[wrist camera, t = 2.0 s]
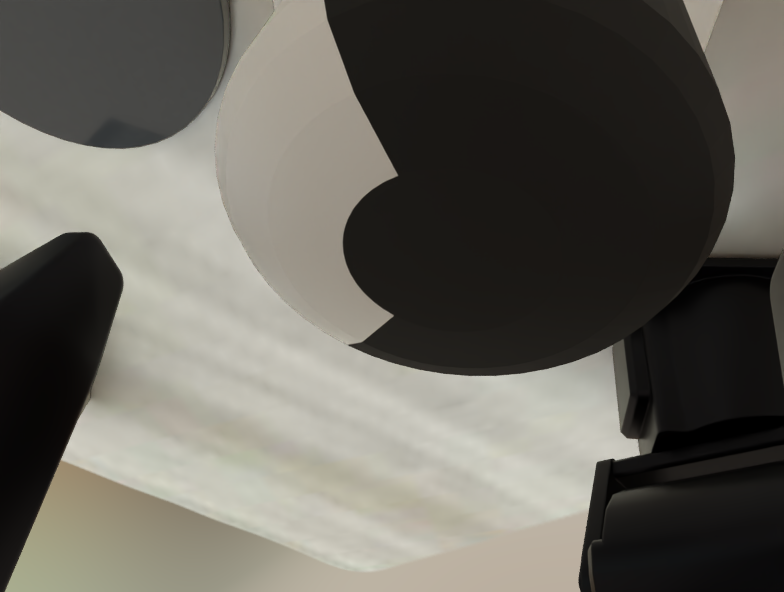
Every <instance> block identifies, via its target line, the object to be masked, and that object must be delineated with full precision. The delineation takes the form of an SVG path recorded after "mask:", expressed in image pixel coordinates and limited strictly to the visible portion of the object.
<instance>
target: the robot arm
mask: <svg viewBox="0 0 784 592" xmlns="http://www.w3.org/2000/svg"><path fill="white" fill-rule="evenodd" d="M122 290H123V276H122V273H121V271H120V270H119V268H118V267H117V265H116V263H115V262H114V260H113V259H112V257H111V256H110V254H109V252H108V251H107V249H106V248H105V246H104V245H103V243H102V242H101V240H100V239H99V238H98V237H97V236H96V235H94V234H92V233H89V232H70V233H65V234H62V235H60V236H58V237H56V238H55V239H53V240H51V241H49V242H48V243H46V244H44V245H42V246H41V247H39V248H37V249H35V250H34V251H32V252H30V253H29V254H27V255H25V256H23V257H22V258H20V259H18V260H16V261H15V262H13V263H11V264H10V265H8V266H6V267H4V268H3V269H1V270H0V592H5V590H6V587H7V585H8V583H9V580H10V578H11V576H12V573H13V571H14V568H15V566H16V564H17V561H18V559H19V556H20V554H21V552H22V550H23V547H24V545H25V542H26V540H27V538H28V536H29V533H30V531H31V529H32V526H33V524H34V522H35V519H36V517H37V514H38V512H39V510H40V507H41V505H42V503H43V500H44V498H45V495H46V493H47V491H48V488H49V486H50V484H51V481H52V479H53V477H54V474H55V472H56V470H57V467H58V465H59V462H60V460H61V458H62V456H63V453H64V451H65V449H66V446H67V444H68V442H69V439H70V437H71V435H72V432H73V430H74V427H75V425H76V423H77V420H78V418H79V416H80V413H81V411H82V409H83V406H84V404H85V402H86V399H87V397H88V395H89V392H90V390H91V387H92V385H93V382H94V380H95V377H96V374H97V371H98V368H99V365H100V362H101V359H102V356H103V352H104V349H105V346H106V343H107V339H108V336H109V333H110V330H111V326H112V323H113V320H114V317H115V313H116V310H117V307H118V304H119V300H120V297H121V294H122ZM612 351H613V361H614V371H615V381H616V391H617V401H618V411H619V421H620V430H621V433H622V434H623V435H624V436H625V437H626V438H630V439H638V443H639V451H640V455H639V456H635V457H630V458H625V459H621V460H616V461H615V460H614V459H608V460H604V461H599V462H597V464H596V470H595V477H594V483H593V489H592V495H591V501H590V508H589V514H588V520H587V526H586V532H585V539H584V545H583V551H582V558H581V566H580V572H579V588H580V591H581V592H784V248H783V250H782V253H781V255H780V258H779V259H759V258H707V259H706V261H705V262H704V264H703V265H702V267H701V268H700V270H699V271H698V273H697V274H696V275H695V277H694V278H693V279H692V280H691V281H690V282H689V283H688V284H687V286H686V287H685V288H684V289H683V290H682V291H681V292H680V293H679V295H678V296H677V297H676V298H674V299H673V300H672V301H671V302H670V303H669V304H668V305H667V306H665V307H664V308H663V309H662V310H661V311H660V312H659V313H657V314H656V315H655V316H654V317H653V318H652V319H650V320H649V321H648V322H647V323H646V324H645V325H643V326H642V327H640V328H639V329H637V330H636V331H634V332H633V333H631V334H630V335H628V336H627V337H625V338H624V339H622V340H621V341H619V342H617V343H615V344H613V350H612Z"/></svg>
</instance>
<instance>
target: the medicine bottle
mask: <svg viewBox="0 0 784 592" xmlns="http://www.w3.org/2000/svg"><path fill="white" fill-rule="evenodd" d="M722 3H723V0H273V5H274V13H273V14H272V15H271V17H270V18H269V20H268V21H267V22H266V24H265V25H264V27H263V28H262V29H261V31H260V32H259V33H258V35H257V36H256V38H255V39H254V40H253V42H252V43H251V45H250V46H249V47H248V49H247V50H246V51H245V53H244V54H243V56H242V57H241V58H240V60H239V62H238V64H237V66H236V68H235V70H234V73H233V75H232V77H231V79H230V81H229V83H228V85H227V87H226V89H225V93H224V97H223V100H222V104H221V108H220V111H219V115H218V119H217V129H216V140H215V159H216V173H217V179H218V184H219V188H220V192H221V196H222V201H223V204H224V207H225V209H226V212H227V214H228V217H229V219H230V222H231V224H232V227H233V229H234V231H235V233H236V234H237V236H238V238H239V240H240V241H241V243H242V245H243V247H244V248H245V250H246V252H247V254H248V255H249V257H250V259H251V261H252V262H253V264H254V266H255V267H256V268H257V270H258V271H259V272H260V274H261V275H262V276H263V278H264V279H265V280H266V282H267V283H268V284H269V285H270V286H271V288H272V289H273V290H274V291H275V292H276V293H277V294H278V295H279V296H280V297H281V298H282V299H283V300H284V301H285V302H286V303H287V304H288V305H289V306H290V307H292V308H293V309H294V310H295V311H296V312H297V313H299V314H300V315H301V316H302V317H303V318H305V319H306V320H307V321H309V322H310V323H312V324H313V325H315V326H316V327H318V328H319V329H321V330H322V331H323V332H325V333H327V334H328V335H330V336H332V337H334V338H336V339H337V340H339V341H341V342H343V343H345V344H346V345H349V346H351V347H353V348H355V349H358V350H360V351H362V352H364V353H367V354H369V355H371V356H374V357H377V358H380V359H383V360H386V361H389V362H392V363H395V364H399V365H403V366H407V367H411V368H415V369H419V370H425V371H431V372H437V373H443V374H454V375H467V376H498V375H509V374H521V373H527V372H532V371H538V370H544V369H548V368H552V367H556V366H559V365H563V364H567V363H570V362H574V361H576V360H579V359H581V358H584V357H587V356H589V355H592V354H595V353H597V352H599V351H601V350H603V349H605V348H607V347H609V346H611V345H613V344H615V343H617V342H619V341H621V340H622V339H624V338H625V337H627V336H628V335H630V334H631V333H633V332H634V331H636V330H637V329H639V328H640V327H642V326H643V325H645V324H646V323H647V322H648V321H649V320H650V319H652V318H653V317H654V316H655V315H656V314H657V313H659V312H660V311H661V310H662V309H663V308H664V307H665V306H667V305H668V304H669V303H670V302H671V301H672V300H673V299H674V298H676V297H677V296H678V295H679V293H680V292H681V291H682V290H683V289H684V288H685V287H686V286H687V284H688V283H689V282H690V281H691V280H692V279H693V278H694V277H695V275H696V274H697V273H698V271H699V270H700V268H701V267H702V265H703V264H704V262H705V261H706V259H707V258H708V256H709V255H710V253H711V252H712V250H713V248H714V246H715V244H716V242H717V239H718V237H719V235H720V232H721V230H722V228H723V226H724V223H725V221H726V217H727V213H728V209H729V205H730V201H731V197H732V193H733V185H734V167H735V154H734V147H733V139H732V132H731V125H730V121H729V118H728V115H727V112H726V110H725V107H724V104H723V101H722V98H721V95H720V92H719V89H718V87H717V84H716V82H715V79H714V77H713V74H712V72H711V69H710V67H709V64H708V62H707V59H706V57H705V54H704V52H705V50H706V47H707V44H708V41H709V39H710V36H711V33H712V30H713V28H714V25H715V22H716V19H717V17H718V14H719V11H720V8H721V6H722Z"/></svg>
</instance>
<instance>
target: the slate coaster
mask: <svg viewBox="0 0 784 592" xmlns="http://www.w3.org/2000/svg"><path fill="white" fill-rule="evenodd" d="M229 41H230V10H229V3H228V0H0V111H2V112H4V113H5V114H7V115H9V116H11V117H13V118H14V119H16V120H18V121H20V122H22V123H23V124H26V125H28V126H30V127H32V128H34V129H37V130H39V131H41V132H43V133H46V134H49V135H51V136H54V137H57V138H60V139H63V140H66V141H70V142H74V143H78V144H81V145H86V146H93V147H100V148H115V149H125V148H135V147H142V146H146V145H150V144H154V143H158V142H160V141H162V140H165V139H167V138H169V137H172V136H174V135H175V134H177V133H178V132H180V131H181V130H183V129H184V128H186V127H187V126H188V125H189V124H190V123H191V122H192V121H193V120H194V119H195V118H196V117H197V116H198V115H199V114H200V113H201V111H202V110H203V109H204V107H205V106H206V104H207V103H208V101H209V100H210V99H211V97H212V96H213V94H214V93H215V91H216V89H217V86H218V84H219V82H220V80H221V78H222V75H223V71H224V68H225V64H226V61H227V57H228V49H229Z"/></svg>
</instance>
